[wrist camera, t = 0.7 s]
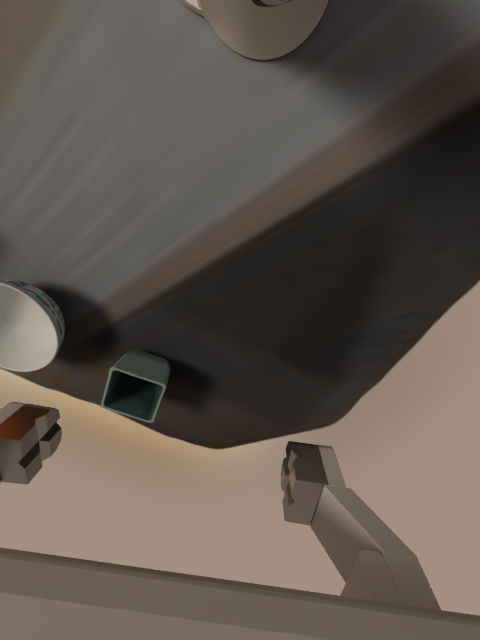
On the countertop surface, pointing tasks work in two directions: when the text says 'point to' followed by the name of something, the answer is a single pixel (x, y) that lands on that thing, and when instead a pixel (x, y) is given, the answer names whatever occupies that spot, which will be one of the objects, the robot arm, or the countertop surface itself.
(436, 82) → the countertop surface
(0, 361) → the chinaware
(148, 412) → the flower pot
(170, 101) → the countertop surface
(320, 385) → the countertop surface
